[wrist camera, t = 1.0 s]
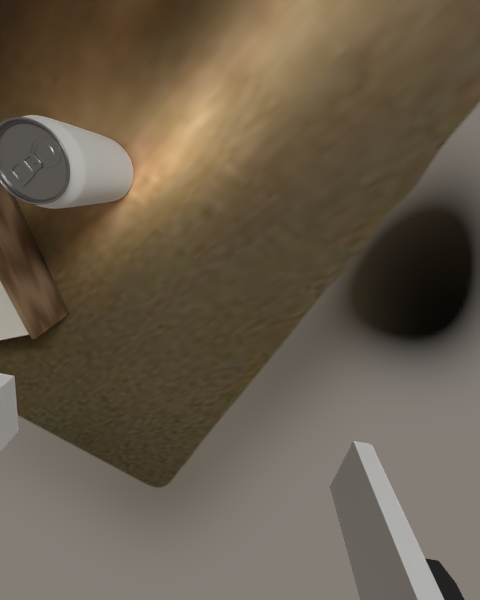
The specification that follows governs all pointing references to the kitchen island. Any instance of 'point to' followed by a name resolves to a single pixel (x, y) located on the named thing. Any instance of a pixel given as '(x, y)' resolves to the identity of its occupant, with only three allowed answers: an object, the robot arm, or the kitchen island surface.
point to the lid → (9, 318)
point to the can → (61, 163)
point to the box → (26, 272)
